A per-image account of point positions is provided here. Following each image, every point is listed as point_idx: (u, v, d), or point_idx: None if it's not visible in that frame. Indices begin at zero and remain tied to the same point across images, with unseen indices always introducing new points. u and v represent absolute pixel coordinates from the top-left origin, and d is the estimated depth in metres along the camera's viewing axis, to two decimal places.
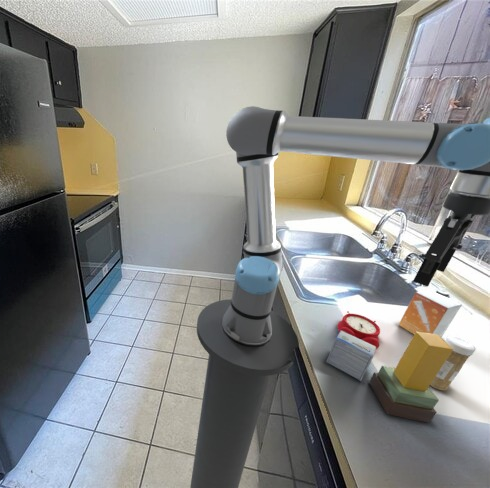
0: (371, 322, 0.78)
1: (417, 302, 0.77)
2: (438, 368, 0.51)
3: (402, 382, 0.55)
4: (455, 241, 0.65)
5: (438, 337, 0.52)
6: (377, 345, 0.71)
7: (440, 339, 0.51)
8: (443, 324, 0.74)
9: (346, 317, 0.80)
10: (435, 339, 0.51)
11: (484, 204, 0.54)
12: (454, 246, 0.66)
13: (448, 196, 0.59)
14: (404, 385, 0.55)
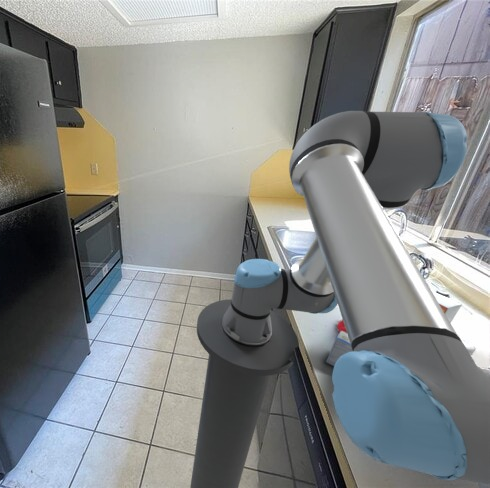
0: None
1: None
2: None
3: None
4: None
5: None
6: None
7: None
8: None
9: None
10: None
11: None
12: None
13: None
14: None
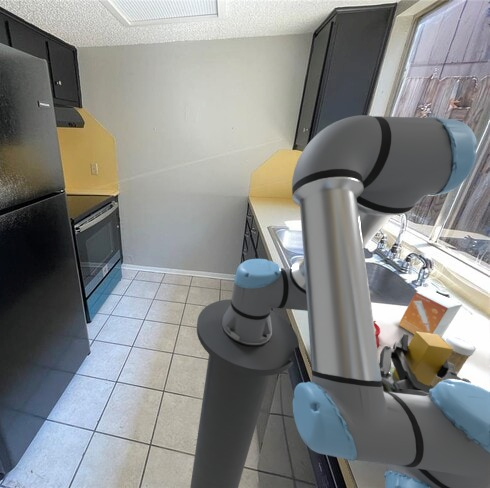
0: None
1: (417, 302, 0.77)
2: (438, 368, 0.51)
3: None
4: None
5: (438, 337, 0.52)
6: (377, 345, 0.71)
7: (440, 339, 0.51)
8: (443, 324, 0.74)
9: None
10: (435, 339, 0.51)
11: None
12: None
13: None
14: None
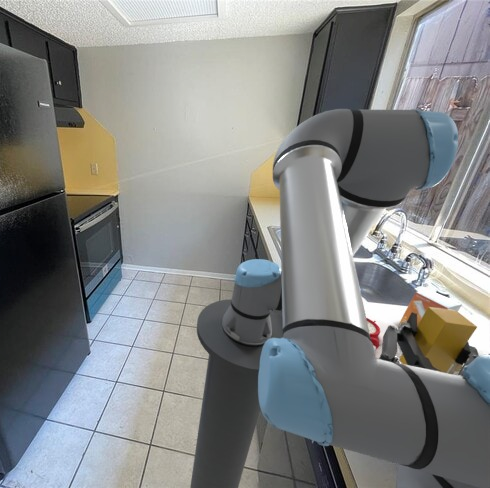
0: (371, 322, 0.78)
1: (417, 302, 0.77)
2: (457, 352, 0.40)
3: None
4: (459, 371, 0.38)
5: (456, 313, 0.41)
6: (377, 345, 0.71)
7: (459, 315, 0.41)
8: None
9: None
10: (453, 315, 0.41)
11: None
12: None
13: None
14: None
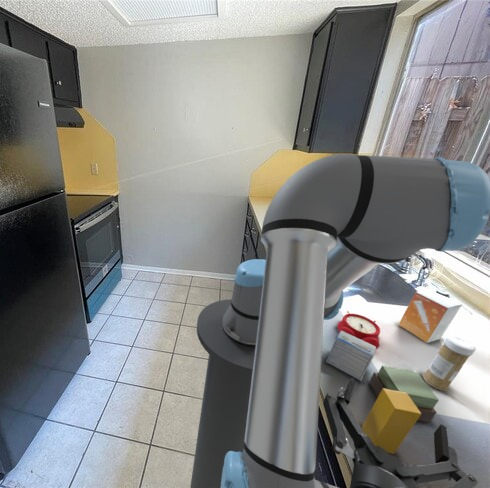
0: (371, 322, 0.78)
1: (417, 302, 0.77)
2: (406, 432, 0.46)
3: None
4: None
5: (406, 396, 0.47)
6: (377, 345, 0.71)
7: (408, 399, 0.46)
8: (443, 324, 0.74)
9: (346, 317, 0.80)
10: (403, 399, 0.46)
11: None
12: None
13: (374, 481, 0.36)
14: None
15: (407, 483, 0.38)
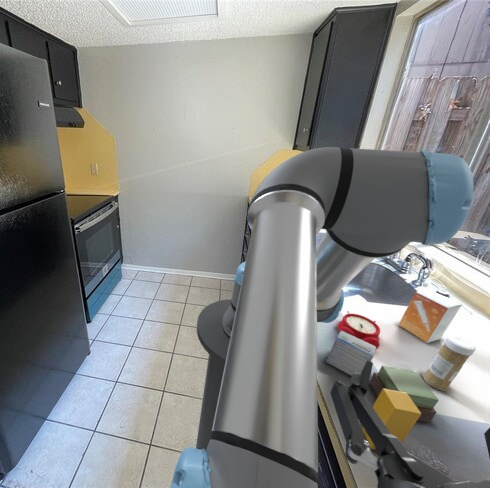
0: (371, 322, 0.78)
1: (417, 302, 0.77)
2: (406, 432, 0.46)
3: (369, 442, 0.50)
4: None
5: (406, 396, 0.47)
6: (377, 345, 0.71)
7: (408, 399, 0.46)
8: (443, 324, 0.74)
9: (346, 317, 0.80)
10: (403, 399, 0.46)
11: None
12: None
13: None
14: (371, 446, 0.50)
15: None
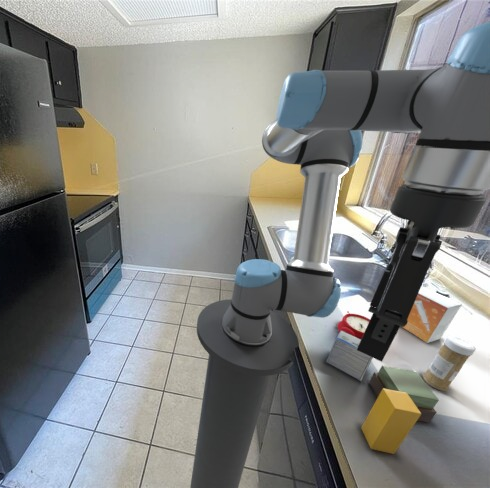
0: None
1: (417, 302, 0.77)
2: (406, 432, 0.46)
3: (369, 442, 0.50)
4: None
5: (406, 396, 0.47)
6: None
7: (408, 399, 0.46)
8: (443, 324, 0.74)
9: (346, 317, 0.80)
10: (403, 399, 0.46)
11: (470, 208, 0.27)
12: None
13: (401, 193, 0.31)
14: (371, 446, 0.50)
15: (408, 227, 0.35)
